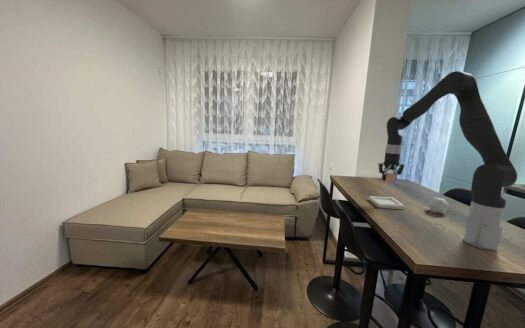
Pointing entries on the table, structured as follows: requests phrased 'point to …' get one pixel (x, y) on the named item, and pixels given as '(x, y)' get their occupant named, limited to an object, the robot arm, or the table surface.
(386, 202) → the tray
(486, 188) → the robot arm
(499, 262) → the table surface
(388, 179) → the cube
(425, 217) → the table surface
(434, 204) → the die
